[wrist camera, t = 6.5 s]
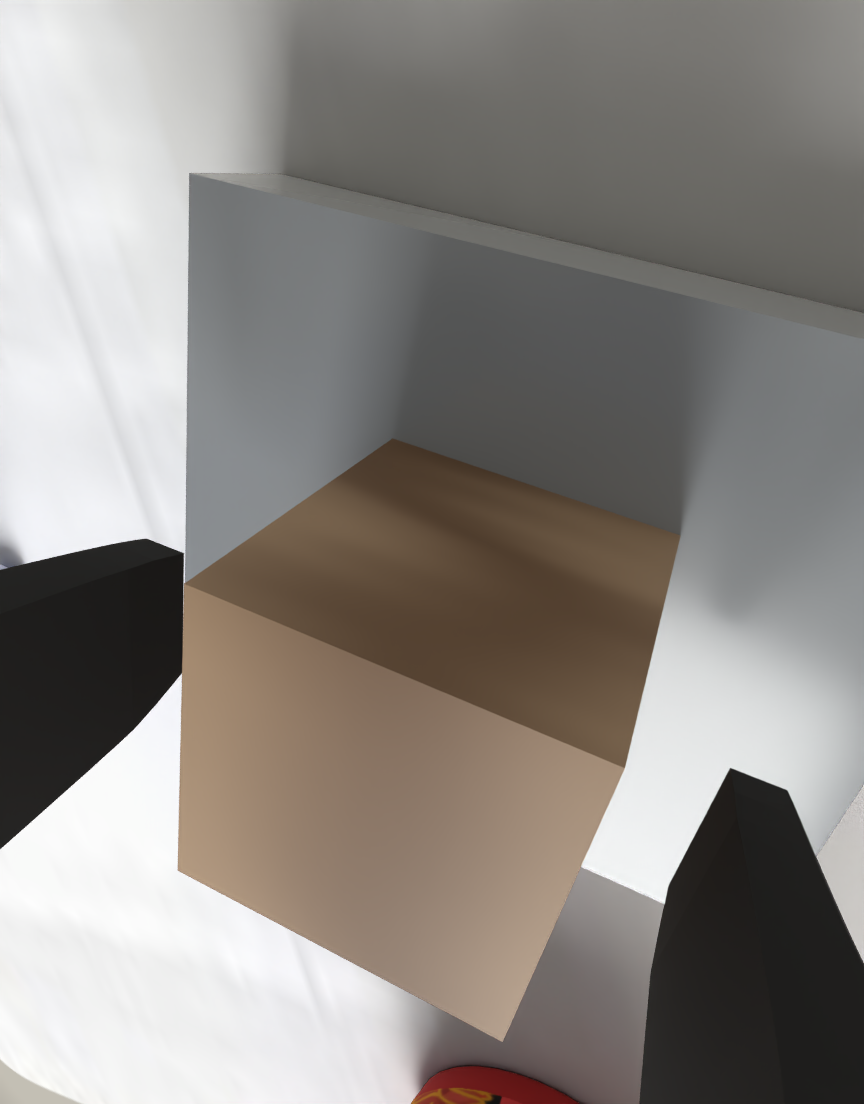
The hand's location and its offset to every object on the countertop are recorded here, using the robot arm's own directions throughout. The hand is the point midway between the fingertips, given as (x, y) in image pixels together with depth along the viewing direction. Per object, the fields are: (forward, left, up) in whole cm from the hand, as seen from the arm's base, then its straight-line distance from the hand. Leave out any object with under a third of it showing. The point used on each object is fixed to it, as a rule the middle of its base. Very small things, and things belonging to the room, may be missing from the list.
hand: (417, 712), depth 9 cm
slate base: (0, 0, -6) cm, 6 cm away
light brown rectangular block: (0, 0, -3) cm, 3 cm away
